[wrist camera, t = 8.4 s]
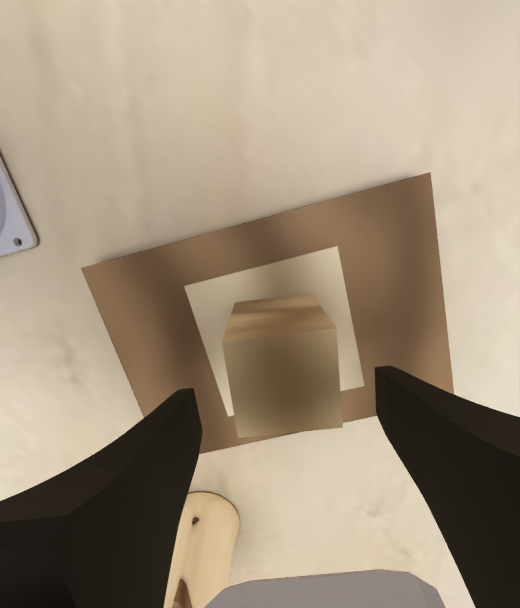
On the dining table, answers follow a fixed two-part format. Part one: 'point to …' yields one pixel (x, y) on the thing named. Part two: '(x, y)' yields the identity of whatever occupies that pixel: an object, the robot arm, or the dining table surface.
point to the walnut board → (277, 283)
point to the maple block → (282, 366)
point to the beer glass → (202, 551)
